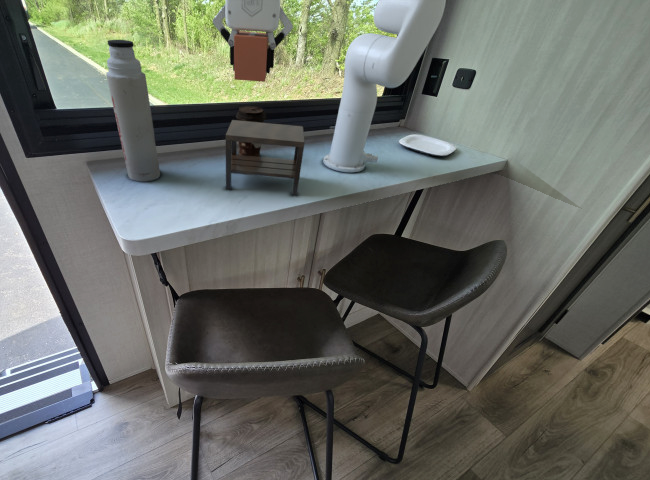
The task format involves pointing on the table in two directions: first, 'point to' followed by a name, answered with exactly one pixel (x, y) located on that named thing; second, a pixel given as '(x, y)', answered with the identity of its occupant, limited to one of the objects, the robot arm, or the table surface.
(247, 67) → the tissue box
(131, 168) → the thermos bottle
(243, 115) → the coffee cup
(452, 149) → the plate
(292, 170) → the slatted side table
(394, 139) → the table surface
